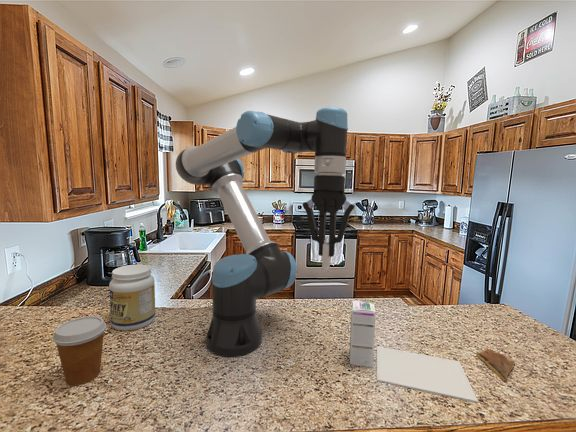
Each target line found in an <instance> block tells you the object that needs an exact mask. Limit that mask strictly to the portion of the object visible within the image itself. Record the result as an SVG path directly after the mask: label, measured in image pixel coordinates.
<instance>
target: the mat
mask: <svg viewBox="0 0 576 432" xmlns="http://www.w3.org/2000/svg"><path fill="white" fill-rule="evenodd" d="M376 381H377V382H379V383H384V384H389V385H393V386H397V387H402V388H407V389H411V390H416V391H420V392H425V393H429V394H430V393H431V394H434V395H440V396H444V397H449V398H453V399H457V400H463V401H466V402H471V403H476V404H478V403H479V400H478V398H477V396H476V394H475V391H474V389H473V388H472V386H471V383H470V381H469V378H468V377H467V374H466V373H465V370H464V368H463V366H462V364H461V361H460V360H454V359H450V358H449V359H448V358H443V357H438V356H432V355H427V354H421V353H416V352H410V351H404V350H399V349H394V348H390V347H389V348H388V347H382V346H378V345H377V346H376Z"/></svg>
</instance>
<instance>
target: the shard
mask: <svg viewBox="0 0 576 432" xmlns="http://www.w3.org/2000/svg"><path fill="white" fill-rule="evenodd" d="M475 354H476V357H477V358H478V359H480V360H481V361H482V362H484V364H485V365H486V366H487V367H488V369H490V370H491V371H492V372H493V373H494V374H495V375H496V376H497V377H498V378H499V379H500V380H501V381H503V382H506V380H507V377H508V375H509V373H510V372H511V371H512V369H513V367H514V366H515V363H516V362H515V360H514V359H512V358H511V357H510V356H507V355H505V354H503V353H501V352H499V351H498V352H497V351H495V350H492V349H490V348H484V349H483V350H482V351H479V352H477V353H475Z"/></svg>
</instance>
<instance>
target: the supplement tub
mask: <svg viewBox="0 0 576 432" xmlns="http://www.w3.org/2000/svg"><path fill="white" fill-rule="evenodd" d="M151 267H152V266H150V265H147V264H129V265H122V266H119V267H117V268H115V269H113V270H112V272H111V274H112V275H111V278H112V279H111V280H110V282H109V283H108V285H109V286H108V289H109V291H108V292H109V310H110V311H109V312H110V314H109V315H110V325H111V326H112V328H113V329H115V330H119V331H126V332H127V331H134V330H139V329H142V328H145V327H147V326H149V325H150V324H151V323H153V321H154V320H155V318H156V297H155V296H156V293H155V292H156V289H155V287H156V286H155V278H154V276H153V275H152V274H153V273H152V268H151Z"/></svg>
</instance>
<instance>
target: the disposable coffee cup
mask: <svg viewBox="0 0 576 432" xmlns="http://www.w3.org/2000/svg"><path fill="white" fill-rule="evenodd" d="M106 329H107V324H106V322H105V321H104V319H103V318H102V317H100V316H95V315H91V316H82V317H78V318H74V319H70V320H68V321H66V322H64V323H62V324H59V326H58V327H56V329H55V332H54V334H53V335H52V341H53V342H54V343H55V344H56V348H57V352H58V357H59V360H60V363H61V369H62V372H63V376H64V379H65V380H64V381H65V384H67V385H68V386H81V385H84V384H87V383H89V382H91V381H93V380H94V379H96V378H98V376H99V375H100V373H101V368H102V367H101V365H102V355H103V346H104V334H105V331H106Z"/></svg>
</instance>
